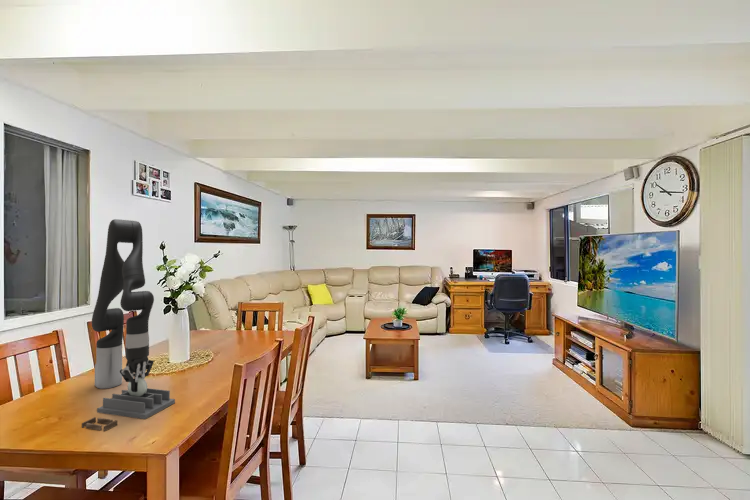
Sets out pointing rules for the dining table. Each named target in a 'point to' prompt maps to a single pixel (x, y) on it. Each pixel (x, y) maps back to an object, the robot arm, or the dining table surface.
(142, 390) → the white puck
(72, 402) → the dining table surface
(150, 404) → the rack
